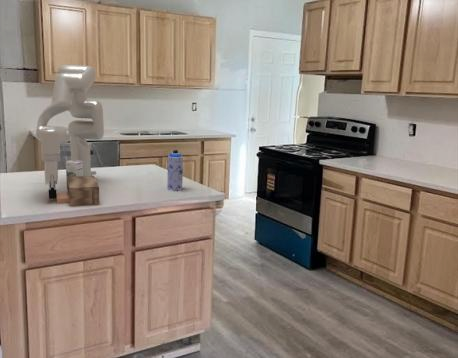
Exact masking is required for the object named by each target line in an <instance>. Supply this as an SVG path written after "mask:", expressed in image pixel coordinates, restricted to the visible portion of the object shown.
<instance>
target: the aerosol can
mask: <svg viewBox="0 0 458 358" xmlns="http://www.w3.org/2000/svg"><path fill="white" fill-rule="evenodd" d="M183 161H184V157H183V155H182V154H181V153H179V150H178V149H173V151H172V152H171V153H169V154H168V156H167V186H166V187H167V188H166V189H168V190H167V191H170V190H172V191H171V192H178V191H177V190H181V191H183V190H184V189H183V176H184V175H183V174H184V173H183V172H184V171H183V170H184V168H183V167H184V166H183V165H184V162H183ZM182 189H183V190H182ZM173 190H174V191H173Z"/></svg>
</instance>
